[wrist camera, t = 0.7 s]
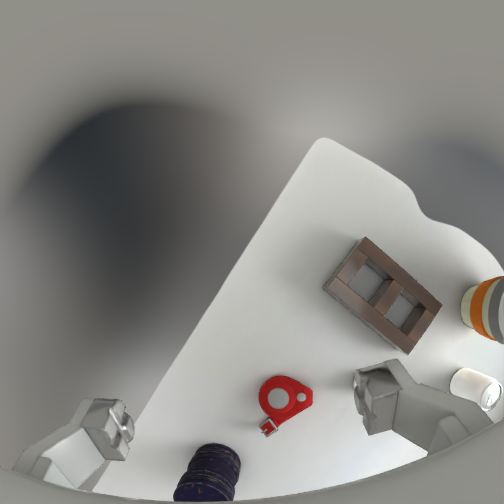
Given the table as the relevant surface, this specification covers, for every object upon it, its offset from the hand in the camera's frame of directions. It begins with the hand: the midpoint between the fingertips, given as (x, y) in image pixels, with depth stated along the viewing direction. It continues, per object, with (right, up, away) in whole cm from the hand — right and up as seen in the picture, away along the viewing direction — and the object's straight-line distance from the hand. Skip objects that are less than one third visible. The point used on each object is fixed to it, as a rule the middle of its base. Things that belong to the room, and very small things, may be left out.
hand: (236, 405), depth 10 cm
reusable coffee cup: (+47, -6, +42) cm, 64 cm away
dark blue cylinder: (-7, -38, +43) cm, 58 cm away
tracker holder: (+5, -23, +44) cm, 50 cm away
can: (+44, -22, +41) cm, 64 cm away
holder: (+24, -3, +44) cm, 50 cm away
